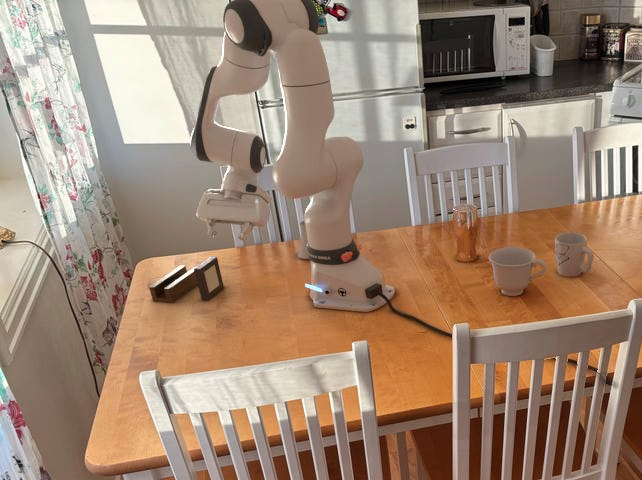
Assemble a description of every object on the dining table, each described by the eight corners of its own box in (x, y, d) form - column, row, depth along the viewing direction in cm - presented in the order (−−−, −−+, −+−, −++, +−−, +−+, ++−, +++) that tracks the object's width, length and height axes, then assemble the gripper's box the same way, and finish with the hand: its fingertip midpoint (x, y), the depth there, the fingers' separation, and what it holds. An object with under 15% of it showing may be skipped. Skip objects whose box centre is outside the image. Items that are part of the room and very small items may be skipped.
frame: (218, 287, 197) (211, 256, 192) (224, 287, 196) (217, 256, 192) (201, 300, 190) (193, 268, 186) (207, 300, 190) (199, 269, 185)
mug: (600, 274, 197) (602, 240, 192) (581, 284, 192) (583, 249, 187) (566, 263, 204) (568, 229, 199) (547, 273, 199) (548, 238, 194)
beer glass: (450, 260, 208) (448, 210, 200) (460, 251, 213) (458, 202, 205) (473, 264, 205) (471, 213, 197) (482, 254, 211) (481, 204, 203)
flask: (316, 260, 210) (311, 227, 205) (293, 259, 212) (287, 226, 206) (326, 250, 216) (321, 218, 211) (303, 249, 218) (298, 217, 212)
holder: (184, 278, 202) (180, 265, 200) (203, 280, 201) (199, 267, 199) (152, 300, 191) (148, 287, 189) (172, 302, 189) (168, 289, 187)
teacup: (538, 306, 182) (539, 269, 177) (482, 298, 187) (481, 262, 182) (551, 286, 192) (552, 250, 187) (498, 278, 197) (497, 244, 191)
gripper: (198, 183, 199) (185, 230, 196) (265, 188, 194) (253, 236, 191) (211, 194, 205) (199, 239, 202) (276, 198, 200) (265, 245, 197)
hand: (226, 238), depth 196 cm, fingers open, 8 cm apart
